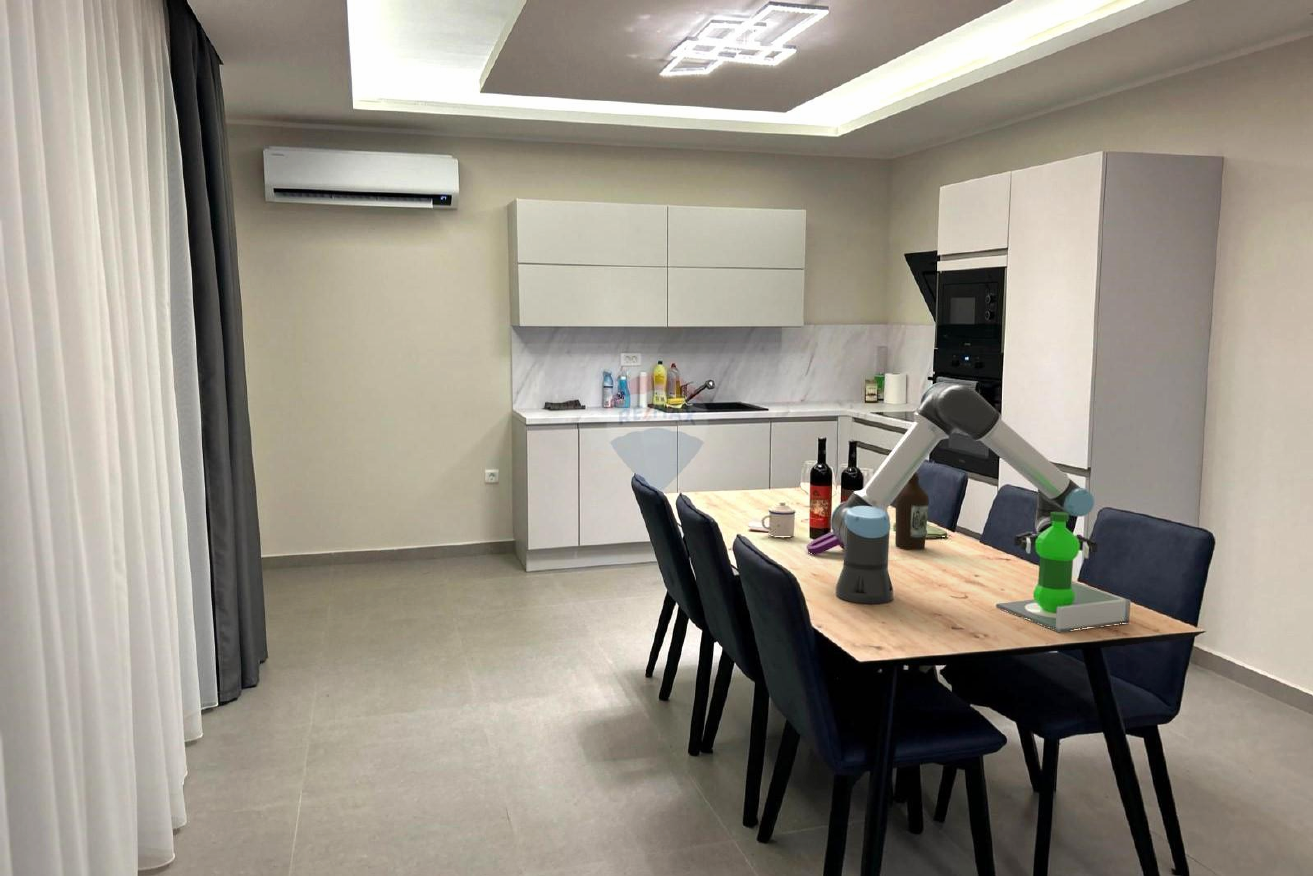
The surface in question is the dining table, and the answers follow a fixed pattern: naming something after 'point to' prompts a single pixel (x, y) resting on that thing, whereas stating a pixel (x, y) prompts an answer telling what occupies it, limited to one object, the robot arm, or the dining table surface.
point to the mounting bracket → (824, 543)
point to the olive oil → (911, 515)
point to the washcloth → (931, 531)
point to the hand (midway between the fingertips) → (1057, 550)
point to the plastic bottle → (1056, 564)
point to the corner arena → (1076, 610)
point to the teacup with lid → (780, 520)
